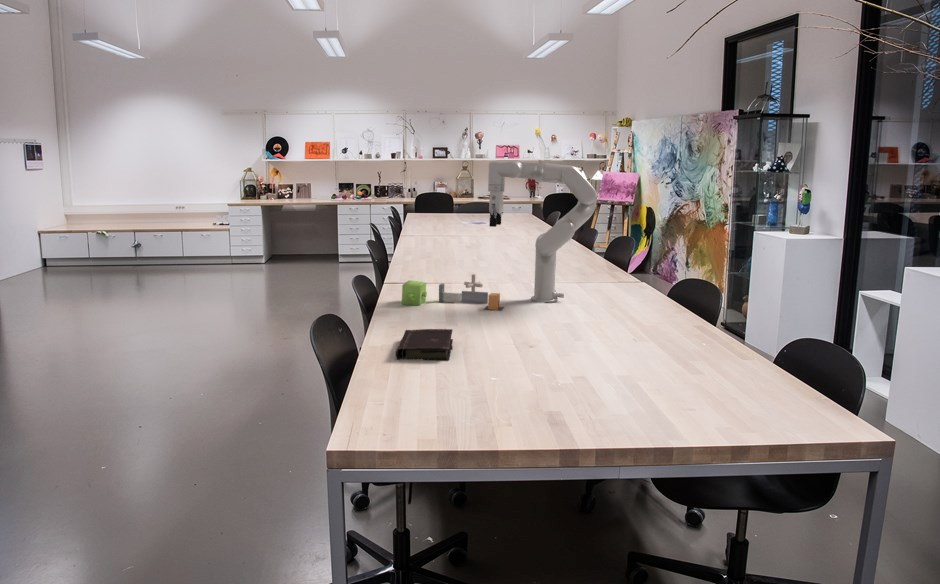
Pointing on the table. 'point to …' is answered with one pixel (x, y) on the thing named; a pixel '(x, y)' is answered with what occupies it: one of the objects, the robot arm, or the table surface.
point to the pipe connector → (473, 284)
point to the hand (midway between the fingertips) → (495, 225)
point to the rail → (462, 296)
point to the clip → (494, 301)
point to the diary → (426, 344)
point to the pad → (494, 310)
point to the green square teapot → (414, 293)
